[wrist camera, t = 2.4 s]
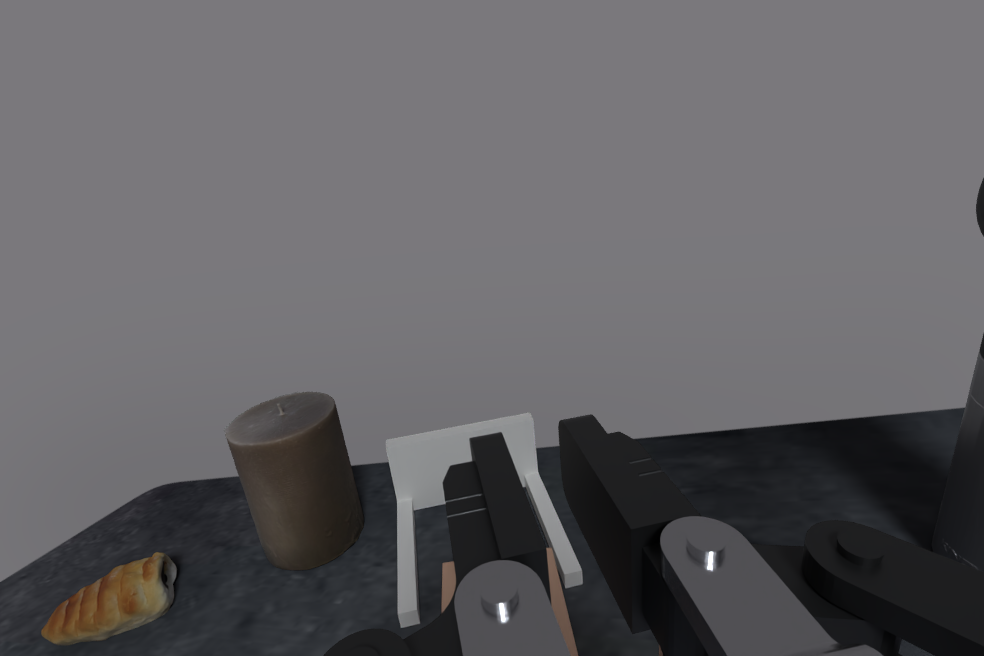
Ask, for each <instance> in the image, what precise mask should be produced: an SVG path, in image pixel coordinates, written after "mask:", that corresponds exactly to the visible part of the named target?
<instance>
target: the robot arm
mask: <svg viewBox="0 0 984 656" xmlns="http://www.w3.org/2000/svg"><path fill="white" fill-rule="evenodd" d="M976 214H977V221H978V225H979V227H980V230H981V233H982V234H983V236H984V178H983V181H982V184H981V186H980V189H979V193H978V198H977V204H976ZM558 428H559V444H560V458H561V472H562V482H563V488H564V492H565V496H566V499H567V502H568V504H569V507H570V509H571V511H572V513H573V515H574V517H575V519H576V521H577V523H578V525H579V527H580V529H581V531H582V533H583V535H584V537H585V539H586V541H587V543H588V545H589V547H590V549H591V551H592V553H593V555H594V557H595V559H596V561H597V563H598V565H599V567H600V569H601V571H602V573H603V575H604V577H605V580H606V582H607V584H608V586H609V588H610V590H611V592H612V594H613V596H614V598H615V600H616V602H617V604H618V606H619V608H620V610H621V612H622V614H623V616H624V618H625V620H626V622H627V624H628V626H629V628H630V630H631V632H632V634H635V633H639V632H643V631H646V630H650V629H651V630H652V632H653V634H654V636H655V638H656V640H657V642H658V643H659V656H902V655H900V654H898V652H899V648H900V644H901V640H902V639H903V640H905V641H907V642H909V643H911V644H913V645H915V646H917V647H919V648H921V649H923V650H925V651H927V652H929V653H931V654H933V655H935V656H984V334H983V338H982V342H981V347H980V352H979V354H978V358H977V362H976V366H975V370H974V374H973V378H972V382H971V386H970V391H969V395H968V399H967V403H966V407H965V411H964V415H963V419H962V423H961V427H960V431H959V435H958V439H957V443H956V447H955V451H954V455H953V459H952V463H951V467H950V471H949V475H948V479H947V483H946V486H945V490H944V494H943V498H942V502H941V506H940V510H939V514H938V518H937V522H936V526H935V530H934V534H933V539H932V544H931V545H932V549H933V552H931V551H929V550H926V549H924V548H921V547H919V546H916V545H914V544H911V543H909V542H906V541H903V540H901V539H898V538H896V537H893V536H891V535H888V534H886V533H883V532H881V531H878V530H876V529H873V528H870V527H867V526H865V525H861V524H858V523H854V522H848V521H838V520H833V521H824V522H820V523H817V524H815V525H813V526H812V527H811V528H810V529H809V530H808V531H807V534H806V537H805V544H804V546H778V545H759V544H752V543H749V542H748V541H747V539H746V538H745V537H744V536H743V535H742V534H741V533H740V532H738V531H737V530H736V529H734V528H733V527H731V526H729V525H728V524H725V523H723V522H721V521H718V520H715V519H712V518H707V517H702V516H701V515H700V514H699V513H698V512H697V510H696V509H695V508H694V507H693V506H692V504H691V503H690V502H689V501H688V500H687V499H686V497H685V496H684V495H683V494H682V493H681V492H680V490H679V489H678V488H677V487H676V486H675V484H674V483H673V482H672V481H671V480H670V479H669V477H668V476H667V475H666V474H665V473H664V472H662V470H661V468H660V467H659V466H658V464H657V463H656V462H655V461H654V460H652V459H651V456H650V455H649V454H648V453H647V451H646V450H645V449H644V448H643V447H642V445H641V444H640V443H639V442H637V441H636V440H634V439H632V438H630V437H628V436H627V435H625V434H623V433H621V432H615V433H610V434H607V433H606V431H605V430H604V429H603V427H602V426H601V425H600V423H599V422H598V421H597V420H596V418H595V417H594V416H593V415H586V416H580V417H576V418H570V419H565V420H561V421H560V422H559V427H558ZM469 442H470V450H471V456H472V461H470V462H465V463H460V464H455V465H450V467H449V469H448V471H447V473H446V476H445V478H444V480H443V482H442V483H443V490H444V497H445V504H446V511H447V518H448V525H449V532H450V539H451V546H452V553H453V560H454V567H455V574H456V586H455V591H454V594H453V597H452V599H451V601H450V603H449V604H448V606H447V607H446V609H445V610H444V611H443V612H442V613H441V615H440V616H439V617H438V618H436V619H435V620H434V621H433V622H432V623H430V624H429V625H427V626H426V627H424V628H422V629H421V630H419V631H417V632H415V633H414V634H412V635H410V636H409V637H407V638H405V639H402V638H401V637H399V636H398V635H397V634H395V633H393V632H391V631H388V630H383V629H368V630H363V631H359V632H356V633H354V634H351V635H349V636H347V637H345V638H344V639H342V640H340V641H339V642H338V643H336V644H335V645H334V646H332V647H331V648H330V649H329V650H328V651H327V652H326V653H325V654H324V656H571V655H570V652H569V650H568V647H567V644H566V642H565V639H564V637H563V634H562V632H561V629H560V627H559V624H558V621H557V619H556V616H555V614H554V611H553V609H552V605H551V593H550V582H549V571H548V560H547V549H546V546H545V543H544V541H543V538H542V536H541V533H540V530H539V528H538V525H537V523H536V520H535V517H534V515H533V512H532V510H531V507H530V504H529V502H528V499H527V497H526V494H525V491H524V489H523V486H522V483H521V481H520V478H519V476H518V473H517V470H516V468H515V465H514V463H513V460H512V457H511V455H510V452H509V450H508V447H507V444H506V442H505V439H504V437H503V434H502V432H498V433H493V434H488V435H483V436H477V437H472V438H469Z"/></svg>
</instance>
